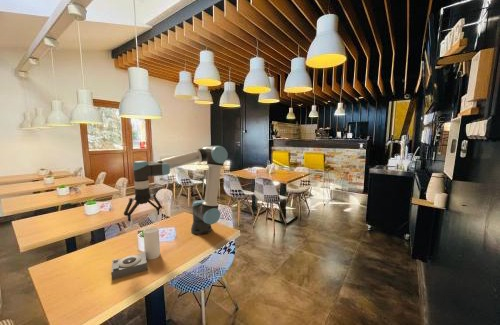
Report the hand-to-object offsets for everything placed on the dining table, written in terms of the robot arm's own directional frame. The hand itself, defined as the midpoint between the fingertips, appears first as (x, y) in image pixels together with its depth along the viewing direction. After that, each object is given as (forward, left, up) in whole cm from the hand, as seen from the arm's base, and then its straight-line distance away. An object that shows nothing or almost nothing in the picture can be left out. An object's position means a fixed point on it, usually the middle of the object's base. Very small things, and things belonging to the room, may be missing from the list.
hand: (144, 223), depth 127 cm
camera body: (+9, +10, -20) cm, 24 cm away
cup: (-3, +2, -20) cm, 21 cm away
